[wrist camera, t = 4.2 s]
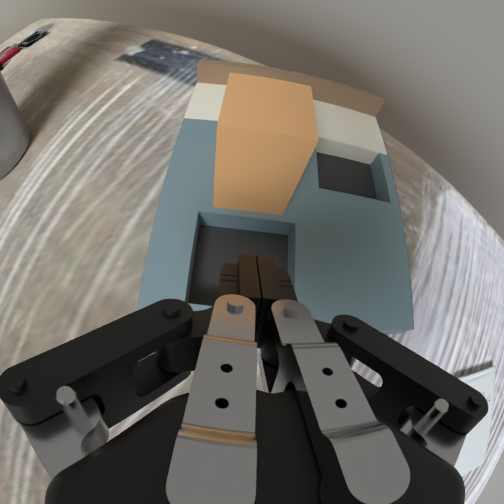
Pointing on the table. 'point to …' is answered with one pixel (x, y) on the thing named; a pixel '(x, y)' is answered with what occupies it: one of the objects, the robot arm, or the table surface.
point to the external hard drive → (479, 435)
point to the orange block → (262, 143)
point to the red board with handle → (11, 51)
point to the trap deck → (288, 212)
